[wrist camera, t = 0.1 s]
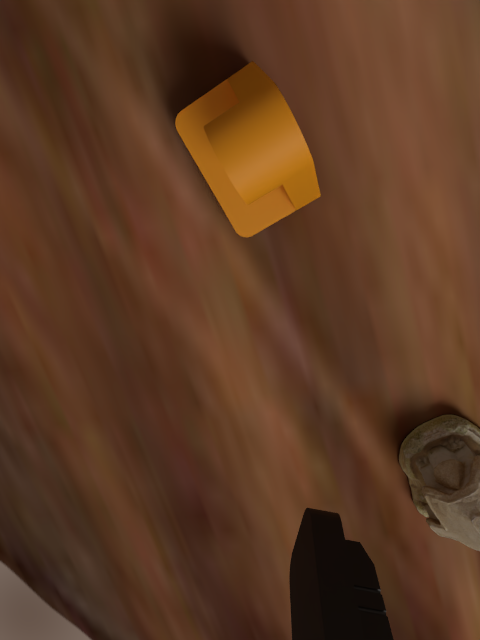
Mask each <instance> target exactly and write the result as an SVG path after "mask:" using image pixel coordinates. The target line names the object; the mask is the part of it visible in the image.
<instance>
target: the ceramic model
mask: <svg viewBox="0 0 480 640" xmlns="http://www.w3.org/2000/svg"><path fill="white" fill-rule="evenodd" d="M399 463H400V466H401V468H402V470H403V471H404V472H405V473H406V475H407V476H408V479H409V484H410V487H411V491H412V496H413V502H414V504H415V506H416V508H417V509H418V511H419V512H420V513H421V514H423V515H424V516H425V517H429V518H426V522H427V523H428V524H429V526H430V528H431V529H432V530H433V531H434V532H435V533H436V534H438V535H440V536H442V537H447V538H451V539H454V540H457V541H459V542H461V543H463V544H465V545H466V546H468V547H470V548H472V549H475V550H477V551H480V429H479V428H478V427H477V426H475V425H474V424H472V423H471V422H469V421H468V420H466V419H464V418H461V417H459V416H456V415H442V416H440V417H437V418H434V419H432V420H430V421H428V422H426V423H423V424H422V425H420V426H418V427H417V428H415V429H414V430H413V431H412V432H411V433H410V434H409V435H408V436H407V437H406V438H405V439H404V441H403V443H402V444H401V448H400V454H399Z"/></svg>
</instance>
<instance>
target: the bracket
mask: <svg viewBox="0 0 480 640" xmlns="http://www.w3.org/2000/svg"><path fill="white" fill-rule="evenodd" d="M175 125H176V129H177V131H178V133H179V135H180V136H181V138H182V140H183V142H184V143H185V145H186V147H187V148H188V150H189V152H190V154H191V155H192V157H193V159H194V160H195V162H196V164H197V166H198V167H199V169H200V171H201V172H202V174H203V176H204V178H205V179H206V181H207V183H208V184H209V186H210V188H211V190H212V191H213V193H214V195H215V196H216V198H217V200H218V202H219V203H220V205H221V207H222V209H223V210H224V212H225V214H226V215H227V217H228V219H229V221H230V222H231V224H232V226H233V227H234V229H235V231H236V232H237V233H238V234H239V235H240V236H242V237H250V236H253V235H254V234H256V233H258V232H260V231H261V230H263V229H265V228H266V227H268V226H270V225H272V224H273V223H275V222H277V221H279V220H280V219H282V218H284V217H285V216H287V215H289V214H291V213H292V212H294V211H296V210H298V209H299V208H301V207H303V206H304V205H306V204H308V203H310V202H311V201H313V200H315V199H317V198H318V197H320V196H321V195H320V191H319V186H318V181H317V177H316V172H315V167H314V163H313V159H312V156H311V154H310V151H309V149H308V146H307V144H306V142H305V139H304V137H303V135H302V133H301V131H300V129H299V126H298V124H297V122H296V120H295V118H294V116H293V114H292V112H291V110H290V108H289V107H288V105H287V103H286V101H285V99H284V97H283V96H282V94H281V92H280V90H279V89H278V87H277V86H276V84H275V83H274V82H273V81H272V80H271V79H270V78H269V77H268V76H267V75H266V74H265V73H264V72H263V71H262V70H261V69H260V68H259V67H258V66H257V65H256V64H255V63H254V62H253V61H252V62H251V63H249V64H248V65H246V66H245V67H244V68H242V69H241V70H239V71H238V72H236V73H235V74H233V75H232V76H231V77H229V78H228V79H226V80H225V81H223V82H222V83H221V84H219V85H218V86H216V87H215V88H213V89H212V90H210V91H209V92H208V93H206V94H205V95H203V96H202V97H200V98H199V99H198V100H196V101H195V102H193V103H192V104H190V105H189V106H188V107H186V108H185V109H183V110H182V111H180V112H179V114H178V115H177V117H176V121H175Z"/></svg>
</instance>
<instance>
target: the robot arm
mask: <svg viewBox="0 0 480 640" xmlns="http://www.w3.org/2000/svg"><path fill="white" fill-rule="evenodd" d="M380 590H381V589H380V586H379V582H378V578H377V574H376V570H375V566H374V564H373V562H372V561H371V559H370V558H369V556H368V554H367V553H366V551H365V550H364V548H363V547H362V545H361V543H360V542H355V541H350V540H345V537H344V532H343V527H342V522H341V518H340V516H339V514H338V513H333V512H328V511H322V510H316V509H311V508H306V510H305V512H304V515H303V518H302V522H301V525H300V528H299V532H298V535H297V539H296V542H295V545H294V549H293V552H292V557H291V564H290V602H291V623H292V640H393V636H392V632H391V628H390V624H389V621H388V617H387V616H386V609H385V605H384V601H383V597H382V595H381V594H380Z"/></svg>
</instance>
